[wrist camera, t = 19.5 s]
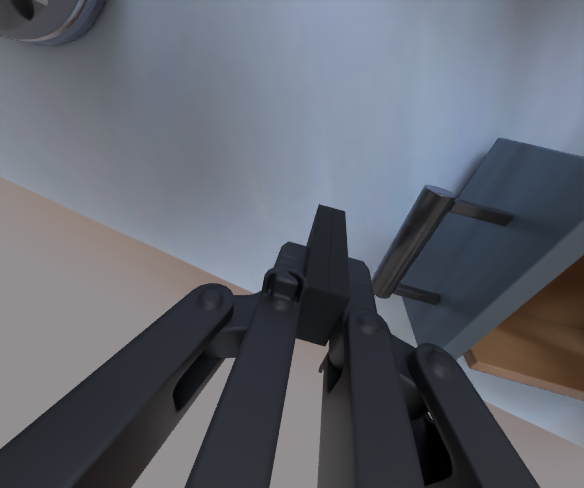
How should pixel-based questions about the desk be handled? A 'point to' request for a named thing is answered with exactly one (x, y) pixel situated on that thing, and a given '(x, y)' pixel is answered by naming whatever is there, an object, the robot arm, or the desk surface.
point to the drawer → (499, 268)
